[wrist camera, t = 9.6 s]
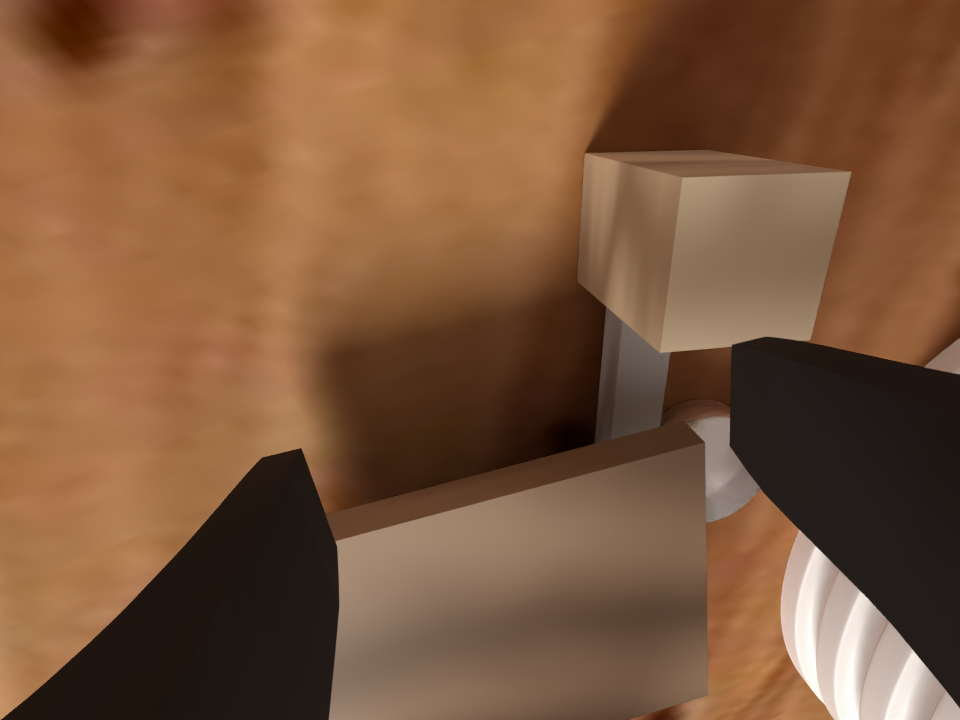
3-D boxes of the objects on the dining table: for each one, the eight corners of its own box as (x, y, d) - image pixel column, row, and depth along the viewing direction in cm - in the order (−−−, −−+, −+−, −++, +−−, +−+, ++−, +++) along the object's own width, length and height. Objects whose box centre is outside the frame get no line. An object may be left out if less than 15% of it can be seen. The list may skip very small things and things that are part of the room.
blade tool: (655, 509, 24) (739, 629, 19) (562, 521, 23) (621, 649, 18) (706, 149, 18) (851, 171, 13) (584, 153, 17) (682, 177, 12)
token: (737, 477, 24) (766, 507, 22) (637, 501, 24) (659, 535, 22) (741, 385, 22) (774, 411, 21) (633, 411, 22) (656, 439, 20)
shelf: (643, 581, 26) (708, 695, 21) (351, 665, 24) (348, 805, 20) (625, 361, 21) (705, 442, 16) (262, 453, 20) (228, 569, 15)
